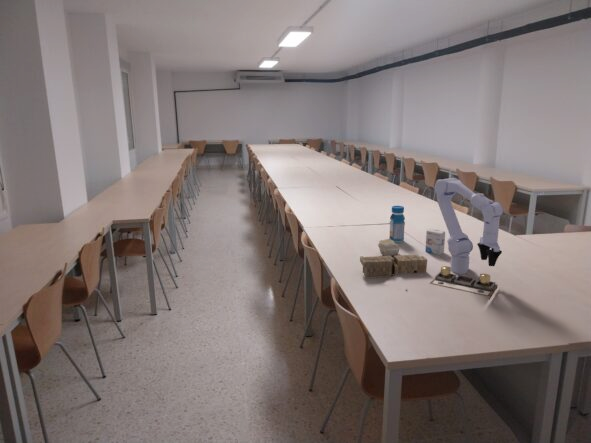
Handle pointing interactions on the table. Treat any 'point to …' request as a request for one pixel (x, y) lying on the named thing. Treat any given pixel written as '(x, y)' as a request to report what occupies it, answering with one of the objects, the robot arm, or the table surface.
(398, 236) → the beverage bottle
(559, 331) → the table surface
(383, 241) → the fossil replica
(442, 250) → the ink box
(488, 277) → the brass peg
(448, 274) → the placed peg
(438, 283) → the board
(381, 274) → the block tower
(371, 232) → the table surface
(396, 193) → the table surface
